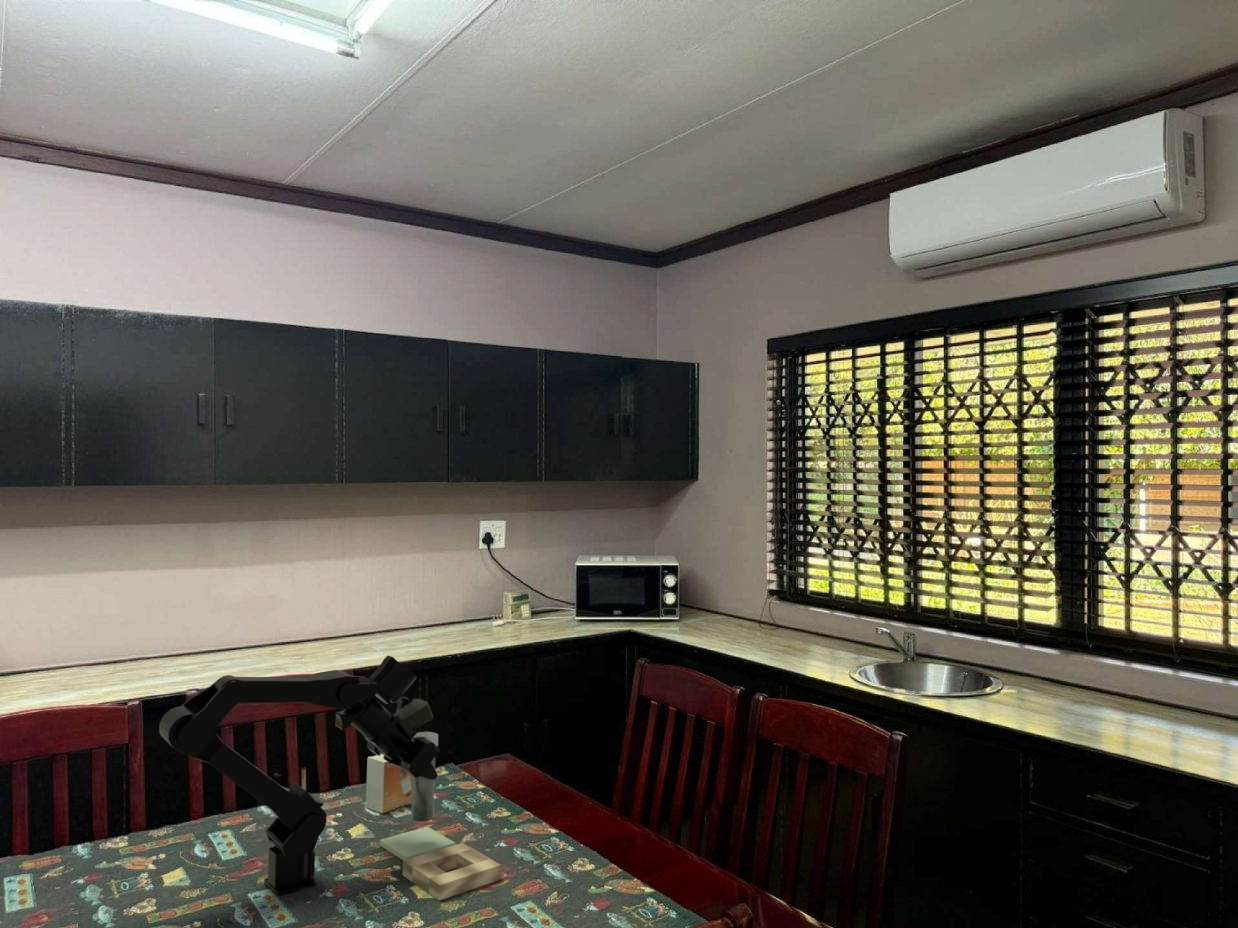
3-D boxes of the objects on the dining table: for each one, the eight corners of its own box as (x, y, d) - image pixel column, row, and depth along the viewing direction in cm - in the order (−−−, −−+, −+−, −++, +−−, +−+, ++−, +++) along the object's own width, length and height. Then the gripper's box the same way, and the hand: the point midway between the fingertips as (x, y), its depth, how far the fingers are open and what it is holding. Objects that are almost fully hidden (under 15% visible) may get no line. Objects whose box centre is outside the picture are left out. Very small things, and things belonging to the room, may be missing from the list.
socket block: (439, 900, 145) (439, 884, 145) (402, 875, 154) (403, 860, 154) (500, 879, 153) (500, 864, 153) (462, 856, 162) (462, 842, 162)
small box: (382, 814, 182) (383, 762, 182) (365, 807, 185) (366, 756, 185) (413, 803, 188) (414, 753, 188) (396, 797, 191) (397, 747, 192)
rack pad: (406, 862, 159) (406, 857, 159) (379, 844, 166) (380, 839, 166) (455, 848, 166) (455, 842, 166) (427, 831, 173) (427, 826, 173)
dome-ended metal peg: (427, 823, 162) (430, 740, 163) (404, 819, 164) (406, 737, 164) (440, 814, 167) (442, 733, 167) (417, 810, 168) (419, 730, 169)
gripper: (430, 697, 156) (483, 750, 163) (384, 677, 171) (435, 727, 177) (387, 750, 151) (443, 803, 158) (343, 725, 165) (396, 774, 172)
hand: (430, 774), depth 166 cm, fingers closed on dome-ended metal peg, 4 cm apart
